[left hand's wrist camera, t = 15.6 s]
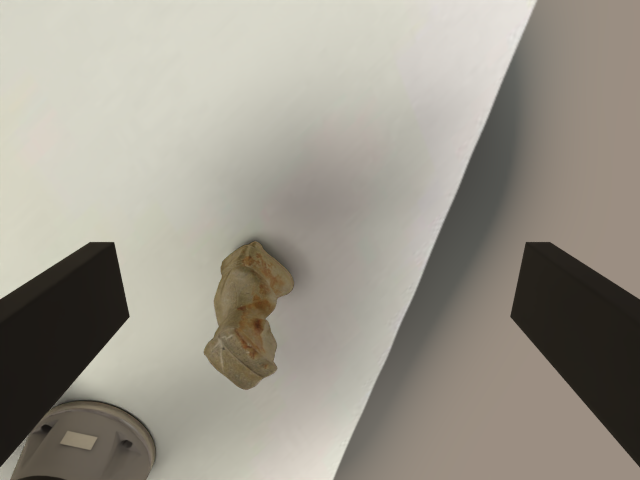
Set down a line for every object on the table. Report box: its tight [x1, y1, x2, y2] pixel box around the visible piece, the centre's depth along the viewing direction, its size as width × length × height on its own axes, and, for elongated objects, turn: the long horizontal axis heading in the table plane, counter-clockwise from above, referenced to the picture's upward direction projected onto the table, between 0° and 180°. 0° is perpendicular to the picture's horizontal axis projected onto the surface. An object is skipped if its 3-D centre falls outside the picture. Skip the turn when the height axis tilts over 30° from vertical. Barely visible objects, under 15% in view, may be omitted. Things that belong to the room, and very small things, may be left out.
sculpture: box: [204, 241, 294, 390], centre depth 33 cm, size 6×7×15 cm
